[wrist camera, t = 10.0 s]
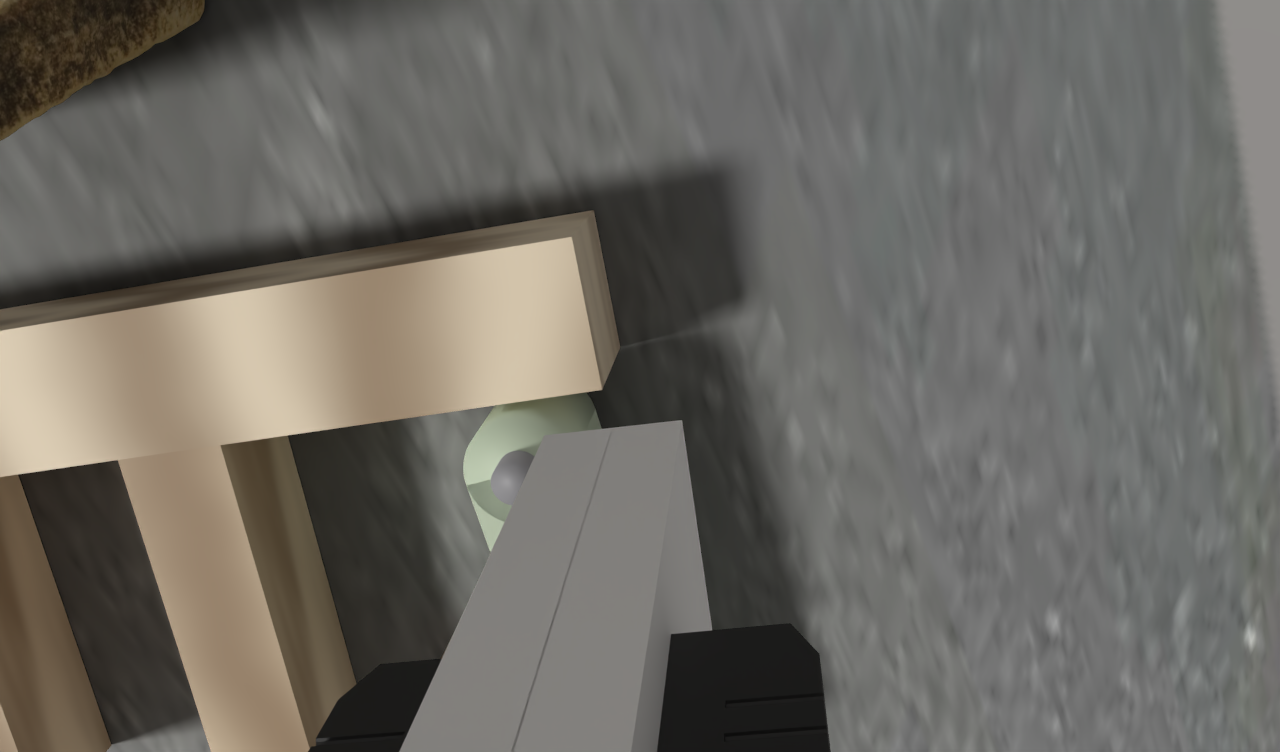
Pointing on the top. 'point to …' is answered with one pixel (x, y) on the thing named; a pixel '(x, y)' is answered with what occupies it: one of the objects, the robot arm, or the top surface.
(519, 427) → the hinged leg
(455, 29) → the top surface
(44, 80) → the rock
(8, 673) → the stool frame
